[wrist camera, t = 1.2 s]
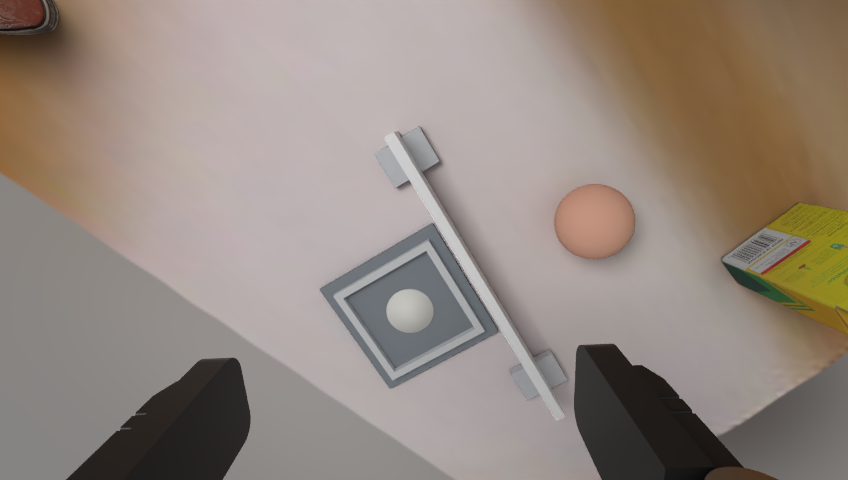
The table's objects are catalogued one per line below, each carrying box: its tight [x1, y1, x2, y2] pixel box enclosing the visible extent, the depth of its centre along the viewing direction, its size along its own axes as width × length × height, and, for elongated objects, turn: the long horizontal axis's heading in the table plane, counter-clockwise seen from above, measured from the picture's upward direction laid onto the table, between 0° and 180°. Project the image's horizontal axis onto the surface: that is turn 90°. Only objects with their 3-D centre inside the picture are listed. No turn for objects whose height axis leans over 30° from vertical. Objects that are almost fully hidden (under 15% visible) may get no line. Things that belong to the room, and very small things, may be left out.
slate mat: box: [320, 223, 498, 388], centre depth 35 cm, size 11×11×1 cm
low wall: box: [374, 126, 567, 421], centre depth 32 cm, size 4×26×4 cm, turn 31°
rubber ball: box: [554, 184, 635, 259], centre depth 30 cm, size 6×6×6 cm
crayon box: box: [721, 203, 848, 335], centre depth 28 cm, size 7×3×12 cm, turn 131°
